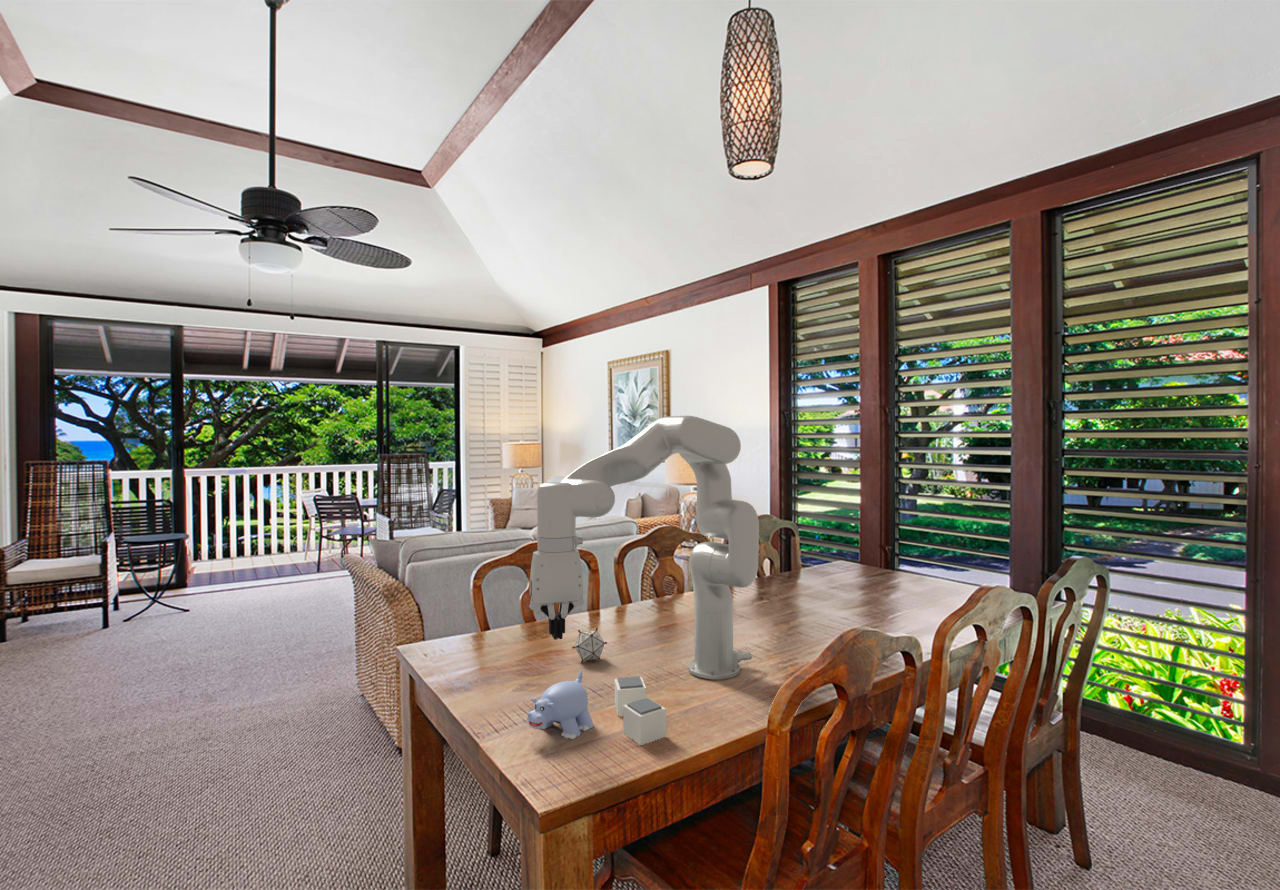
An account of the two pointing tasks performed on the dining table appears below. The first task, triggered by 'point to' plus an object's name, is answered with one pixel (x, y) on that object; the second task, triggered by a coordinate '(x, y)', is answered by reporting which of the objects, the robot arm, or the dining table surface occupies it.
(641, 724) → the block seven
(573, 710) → the hippopotamus toy
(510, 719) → the dining table surface
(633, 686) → the block three
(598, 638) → the game die
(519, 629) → the dining table surface
